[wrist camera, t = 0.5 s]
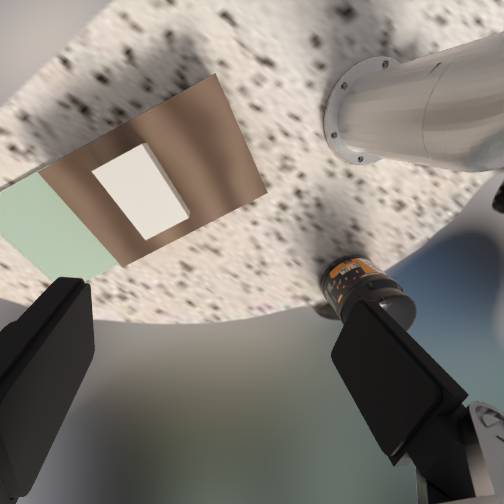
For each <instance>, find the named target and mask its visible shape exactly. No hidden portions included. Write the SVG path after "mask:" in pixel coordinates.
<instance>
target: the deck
mask: <svg viewBox="0 0 504 504" xmlns="http://www.w3.org/2000/svg"><path fill="white" fill-rule="evenodd" d="M143 143H147V144H148V145H149V147H150V149H151V150H152V152H153V153H154V155H155V156H156V158H157V160H158V161H159V163H160V164H161V166H162V168H163V169H164V171H165V172H166V174H167V176H168V177H169V179H170V180H171V182H172V183H173V185H174V187H175V188H176V190H177V191H178V193H179V195H180V196H181V198H182V199H183V201H184V202H185V204H186V206H187V207H188V209H189V210H190V215H189V218H188V219H186V220H184V221H182V222H180V223H178V224H176V225H174V226H172V227H170V228H169V229H167V230H165V231H163V232H161V233H159V234H157V235H155V236H153V237H151V238H149V239H147V240H145V239H144V238H143V237H142V235H141V234H140V233H139V231H138V230H137V229H136V228H135V226H134V225H133V224H132V222H131V221H130V220H129V219H128V217H127V216H126V215H125V214H124V212H123V211H122V210H121V208H120V207H119V206H118V205H117V203H116V202H115V201H114V199H113V198H112V197H111V196H110V194H109V193H108V192H107V191H106V189H105V188H104V187H103V185H102V184H101V183H100V182H99V180H98V179H97V178H96V176H95V175H94V174H93V173H92V171H93V170H95V169H97V168H99V167H100V166H102V165H104V164H106V163H108V162H110V161H111V160H113V159H115V158H117V157H119V156H121V155H122V154H124V153H126V152H128V151H130V150H132V149H133V148H135V147H137V146H139V145H141V144H143ZM38 173H39V175H40V176H41V177H42V178H43V179H44V180H45V181H46V182H47V183H48V185H49V186H50V187H51V188H52V189H53V190H54V191H55V192H56V194H57V195H58V196H59V197H60V198H61V199H62V200H63V201H64V202H65V204H66V205H67V206H68V207H69V208H70V209H71V210H72V211H73V213H74V214H75V215H76V216H77V217H78V218H79V219H80V220H81V221H82V223H83V224H84V225H85V226H86V227H87V228H88V229H89V230H90V231H91V233H92V234H93V235H94V236H95V237H96V238H97V239H98V240H99V242H100V243H101V244H102V245H103V246H104V247H105V248H106V249H107V250H108V252H109V253H110V254H111V255H112V256H113V257H114V258H115V259H116V261H117V262H118V263H119V264H120V265H121V266H122V267H124V266H126V265H128V264H130V263H132V262H134V261H136V260H138V259H140V258H142V257H144V256H146V255H148V254H150V253H151V252H153V251H155V250H157V249H159V248H161V247H163V246H165V245H167V244H169V243H171V242H173V241H175V240H177V239H179V238H181V237H183V236H185V235H187V234H188V233H190V232H192V231H194V230H196V229H198V228H200V227H202V226H204V225H206V224H208V223H210V222H212V221H214V220H216V219H218V218H220V217H222V216H224V215H225V214H227V213H229V212H231V211H233V210H235V209H237V208H239V207H241V206H243V205H245V204H247V203H249V202H251V201H253V200H255V199H257V198H259V197H261V196H262V195H264V194H266V193H267V190H266V188H265V186H264V183H263V181H262V179H261V177H260V174H259V172H258V170H257V167H256V165H255V163H254V161H253V158H252V156H251V154H250V151H249V149H248V147H247V145H246V142H245V140H244V138H243V136H242V133H241V131H240V129H239V126H238V124H237V122H236V120H235V117H234V115H233V113H232V110H231V108H230V106H229V104H228V101H227V99H226V97H225V94H224V92H223V90H222V88H221V85H220V83H219V81H218V78H217V76H216V74H213V75H211V76H209V77H208V78H206V79H204V80H202V81H200V82H199V83H197V84H195V85H193V86H191V87H190V88H188V89H186V90H184V91H182V92H181V93H179V94H177V95H175V96H173V97H172V98H170V99H168V100H166V101H164V102H163V103H161V104H159V105H157V106H155V107H153V108H152V109H150V110H148V111H146V112H144V113H143V114H141V115H139V116H137V117H135V118H134V119H132V120H130V121H128V122H126V123H125V124H123V125H121V126H119V127H117V128H116V129H114V130H112V131H110V132H108V133H107V134H105V135H103V136H101V137H99V138H97V139H96V140H94V141H92V142H90V143H88V144H87V145H85V146H83V147H81V148H79V149H78V150H76V151H74V152H72V153H70V154H69V155H67V156H65V157H63V158H61V159H60V160H58V161H56V162H54V163H52V164H51V165H49V166H47V167H45V168H43V169H41V170H40V171H38Z"/></svg>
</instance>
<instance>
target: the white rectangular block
mask: <svg viewBox="0 0 504 504" xmlns="http://www.w3.org/2000/svg"><path fill="white" fill-rule="evenodd" d="M92 173H93V174H94V175H95V176H96V178H97V179H98V180H99V182H100V183H101V184H102V185H103V187H104V188H105V189H106V191H107V192H108V193H109V194H110V196H111V197H112V198H113V199H114V201H115V202H116V203H117V205H118V206H119V207H120V208H121V210H122V211H123V212H124V214H125V215H126V216H127V217H128V219H129V220H130V221H131V222H132V224H133V225H134V226H135V228H136V229H137V230H138V231H139V233H140V234H141V235H142V237H143V238H144V239H145V240H147V239H149V238H151V237H153V236H155V235H157V234H159V233H161V232H163V231H165V230H167V229H169V228H170V227H172V226H174V225H176V224H178V223H180V222H182V221H184V220H186V219H188V218H189V215H190V210H189V209H188V207H187V206H186V204H185V202H184V201H183V199H182V198H181V196H180V195H179V193H178V191H177V190H176V188H175V187H174V185H173V183H172V182H171V180H170V179H169V177H168V176H167V174H166V172H165V171H164V169H163V168H162V166H161V164H160V163H159V161H158V160H157V158H156V156H155V155H154V153H153V152H152V150H151V149H150V147H149V145H148V144H147V143H143V144H141V145H139V146H137V147H135V148H133V149H132V150H130V151H128V152H126V153H124V154H122V155H121V156H119V157H117V158H115V159H113V160H111V161H110V162H108V163H106V164H104V165H102V166H100V167H99V168H97V169H95V170H93V171H92Z"/></svg>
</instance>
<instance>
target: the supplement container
mask: <svg viewBox="0 0 504 504" xmlns="http://www.w3.org/2000/svg"><path fill="white" fill-rule="evenodd" d="M321 288H322V293H323V295H324V297H325V298H326V299H327V300H328V302H329V303H330V305H331V306H332V307H333V309H334V310H335V312H336V313H337V315H338V316H339V317H340V320H341V322H342V323H343V325H344V324H345V322H346V320H347V318H348V316H349V314H350V311H351V309H352V307H353V305H354V304H355V303H357V302H358V301H359V300H373V301H376V302H377V303H378V304H379V305H380V306H381V307H382V308H383V309H384V310H385V311H386V312H387V313H388V314H389V315H390V316H391V317H392V318H393V319H394V320H395V321H396V322H397V323H398V324H399V325H400V326H401V327H402V328H403V329H404V330H405V331H407V330H408V329H409V328H410V326H411V325H412V324H413V322H414V320H415V317H416V313H417V308H416V304H415V302H414V301H413V300H412V299H411V298H410V297H409V296H407V295H406V294H405V293H404V292H403V289H402V287H401V286H400V284H399V283H397V282H396V281H395V280H393V279H391V278H390V277H389V276H388V275H386V274H385V273H384V272H383V271H382V270H380V269H379V268H378V267H377V266H375V265H374V264H373V263H372V262H371V261H370V260H369V259H367V258H365V257H362V256H356V255H353V256H347V257H344V258H341V259H339V260H338V261H336V262H334V263H333V264H332V265H331V266H330V267H329V268H328V269H327V271H326V272H325V274H324V276H323V278H322V283H321Z"/></svg>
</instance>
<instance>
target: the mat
mask: <svg viewBox="0 0 504 504" xmlns="http://www.w3.org/2000/svg"><path fill="white" fill-rule="evenodd" d="M51 164H52V163H51ZM51 164H49V165H51ZM49 165H47V166H49ZM47 166H46V167H47ZM44 168H45V167H44ZM42 169H43V168H42ZM40 170H41V169H40ZM40 170H38V171H40ZM38 171H37V172H35V173H33V174H31V175H29V176H27V177H26V178H24V179H22V180H20V181H18V182H17V183H15V184H13V185H11V186H9V187H8V188H6V189H4V190H2V191H0V235H1V236H2V237H3V238H4V239H5V240H6V241H8V242H9V243H10V244H11V245H12V246H13V247H14V248H15V249H16V250H18V251H19V252H20V253H21V254H22V255H23V256H24V257H25V258H26V259H28V260H29V261H30V262H31V263H32V264H33V265H34V266H35V267H37V268H38V269H39V270H40V271H41V272H42V273H43V274H44V275H45V276H47V277H48V278H49V279H50V280H51V281H52V282H54V281H55V280H56V279H57V278H58V277H73V278H82V279H83V280H84V282H85V281H87V280H89V279H91V278H93V277H95V276H97V275H99V274H101V273H103V272H105V271H107V270H108V269H110V268H112V267H114V266H116V265H118V264H119V263H118V262H117V261H116V259H115V258H114V257H113V256H112V255H111V254H110V253H109V252H108V250H107V249H106V248H105V247H104V246H103V245H102V244H101V243H100V242H99V240H98V239H97V238H96V237H95V236H94V235H93V234H92V233H91V231H90V230H89V229H88V228H87V227H86V226H85V225H84V224H83V223H82V221H81V220H80V219H79V218H78V217H77V216H76V215H75V214H74V213H73V211H72V210H71V209H70V208H69V207H68V206H67V205H66V204H65V202H64V201H63V200H62V199H61V198H60V197H59V196H58V195H57V194H56V192H55V191H54V190H53V189H52V188H51V187H50V186H49V185H48V183H47V182H46V181H45V180H44V179H43V178H42V177H41V176H40V175H39V173H38Z"/></svg>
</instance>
